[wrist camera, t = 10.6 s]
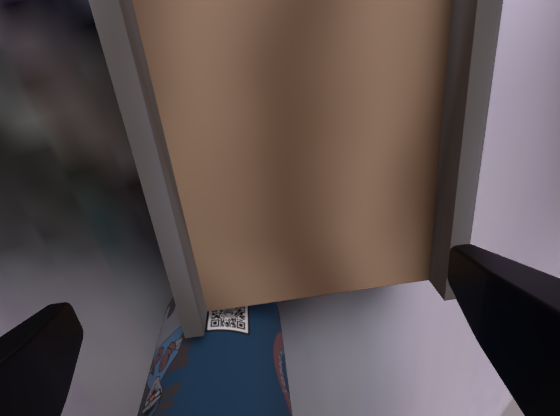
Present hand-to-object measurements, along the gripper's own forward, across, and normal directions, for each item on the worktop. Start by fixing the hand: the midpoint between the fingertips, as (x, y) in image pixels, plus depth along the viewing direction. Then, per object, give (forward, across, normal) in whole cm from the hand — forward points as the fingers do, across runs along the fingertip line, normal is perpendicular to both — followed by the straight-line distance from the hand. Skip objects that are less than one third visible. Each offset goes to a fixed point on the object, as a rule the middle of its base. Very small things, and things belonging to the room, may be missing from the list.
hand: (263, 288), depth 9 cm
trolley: (+12, -2, -2) cm, 12 cm away
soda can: (+12, +4, +10) cm, 16 cm away
